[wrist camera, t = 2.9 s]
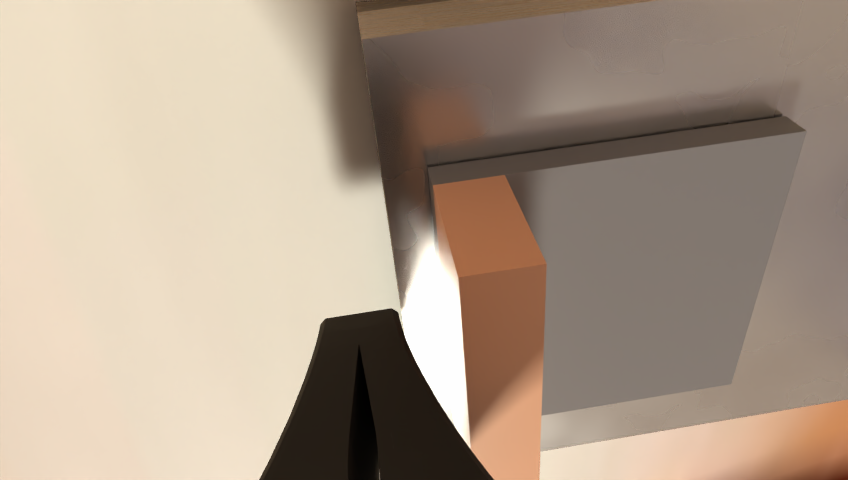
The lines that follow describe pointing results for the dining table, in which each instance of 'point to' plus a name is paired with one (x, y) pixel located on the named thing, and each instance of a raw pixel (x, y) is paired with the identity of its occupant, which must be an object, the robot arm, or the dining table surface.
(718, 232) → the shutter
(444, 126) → the socket plate
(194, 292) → the dining table surface
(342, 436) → the robot arm
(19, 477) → the dining table surface
